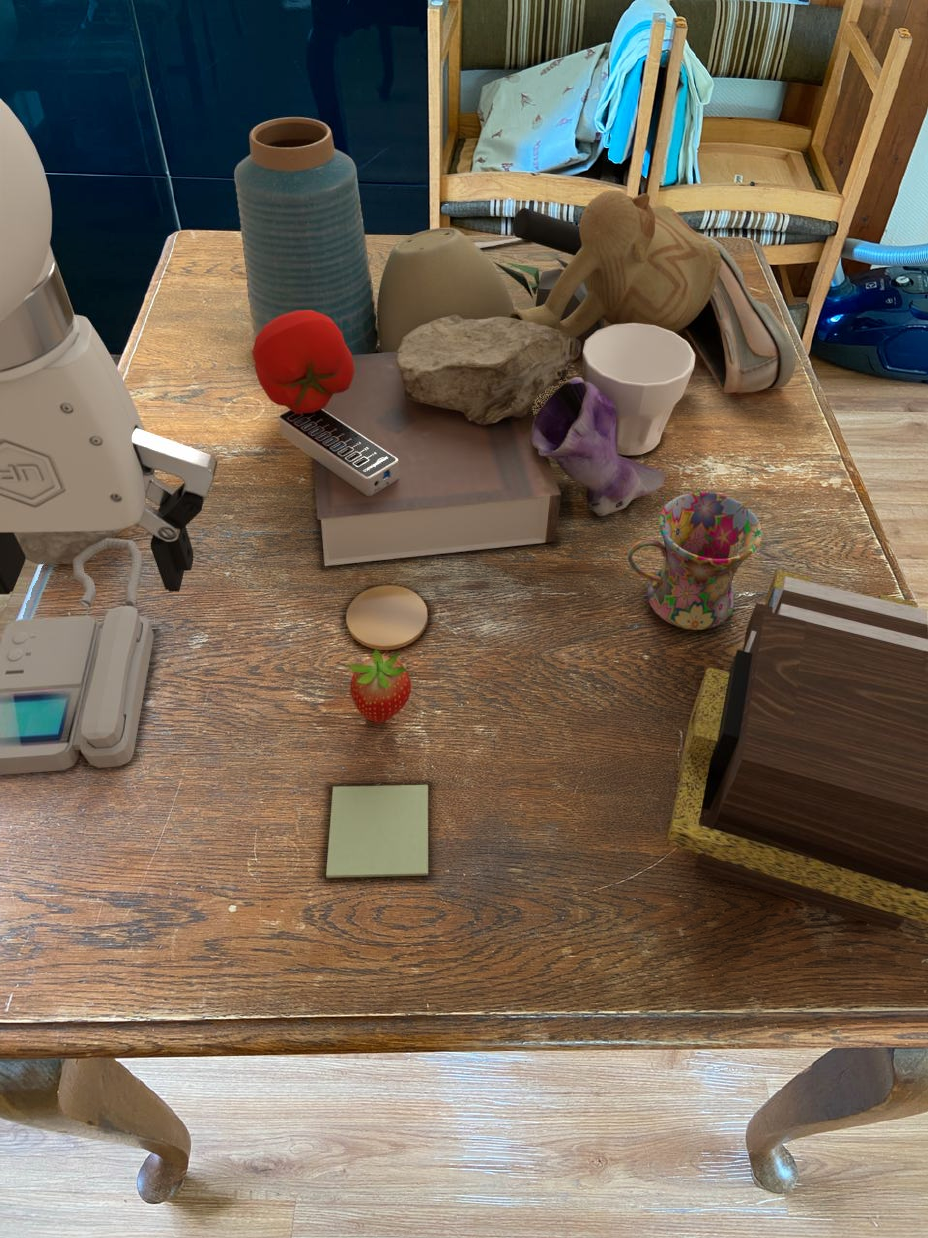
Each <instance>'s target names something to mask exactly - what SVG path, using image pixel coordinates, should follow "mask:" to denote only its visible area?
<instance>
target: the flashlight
mask: <svg viewBox="0 0 928 1238" xmlns="http://www.w3.org/2000/svg"><path fill="white" fill-rule="evenodd" d="M514 216H515V217H514V219H513V222H512V233H513V235H514V237H515V238H520V239H523V240H524V241H527V242H529V243H530V242H531V243H534V244H537V245H539V246H543V247H545V248H549V249H552V250H555V251H558V252H561V253H565V254H568V255H571V256H573V257H574V256H575V255H576V254H577V252H578V251H579V250H580V248H581V247H582V243H581V238H580V233H579V225H577V224H574V223H571V222H568V221H565V220H562V219H559V218H557V217H553V216H550V215H548V214H544V213H542V212H539V211H536V210H534V209H530V208H528V207H523V208H520V209H519V210H518V211H517V213H516V214H515V215H514Z"/></svg>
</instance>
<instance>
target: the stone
mask: <svg viewBox="0 0 928 1238" xmlns="http://www.w3.org/2000/svg"><path fill="white" fill-rule="evenodd" d="M153 475H154V476H155V477H157V474H156V472H155V473H154V474H153ZM125 530H126V528H123V529H119V530H108V531H72V532H14V534H15V536H16V538H17V540H18V542H19V544H20V546H21V548H22V550H23V552H24V554H25V558H26V559H25V560H26V561H28V562H31V563H33V564H36V565H61V564H62V565H68V564H73V559H74V558H75V557H76V556H77V555H79V554H80V553H81V552H82V551H83V550H84V549H85V548H86V547H88V546H90V545H92V544H95V543H97V542H99V541H101V540H103V539H105V538H113V539H116V538H117V536H118V535H119V534H120V533H122V532H123V531H125Z"/></svg>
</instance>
